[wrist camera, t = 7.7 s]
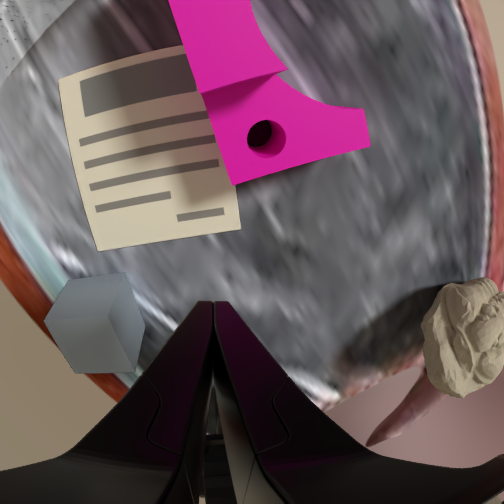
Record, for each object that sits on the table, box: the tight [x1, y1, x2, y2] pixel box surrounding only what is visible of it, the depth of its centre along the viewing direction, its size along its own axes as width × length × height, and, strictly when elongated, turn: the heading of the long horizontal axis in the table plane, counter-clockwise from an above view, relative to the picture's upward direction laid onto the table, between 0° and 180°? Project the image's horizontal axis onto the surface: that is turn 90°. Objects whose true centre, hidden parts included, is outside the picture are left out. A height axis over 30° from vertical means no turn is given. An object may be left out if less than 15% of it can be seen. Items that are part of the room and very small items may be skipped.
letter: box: [58, 45, 241, 251], centre depth 17 cm, size 12×10×1 cm
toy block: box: [168, 0, 371, 186], centre depth 12 cm, size 15×6×8 cm
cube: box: [44, 272, 145, 373], centre depth 20 cm, size 5×5×5 cm
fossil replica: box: [421, 277, 504, 398], centre depth 22 cm, size 12×8×10 cm
